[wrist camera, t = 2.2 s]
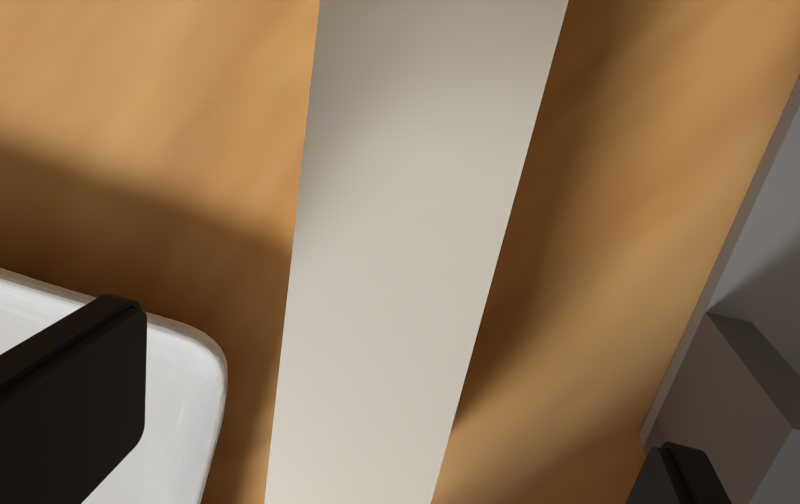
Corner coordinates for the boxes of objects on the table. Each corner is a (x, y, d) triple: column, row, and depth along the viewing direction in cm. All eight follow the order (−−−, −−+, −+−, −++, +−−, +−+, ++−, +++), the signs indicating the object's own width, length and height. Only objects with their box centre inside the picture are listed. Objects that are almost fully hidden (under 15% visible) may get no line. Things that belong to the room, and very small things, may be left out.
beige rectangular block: (398, -71, 14) (335, -138, 8) (554, -42, 14) (594, -93, 8) (322, 421, 20) (257, 566, 15) (428, 448, 20) (402, 607, 14)
